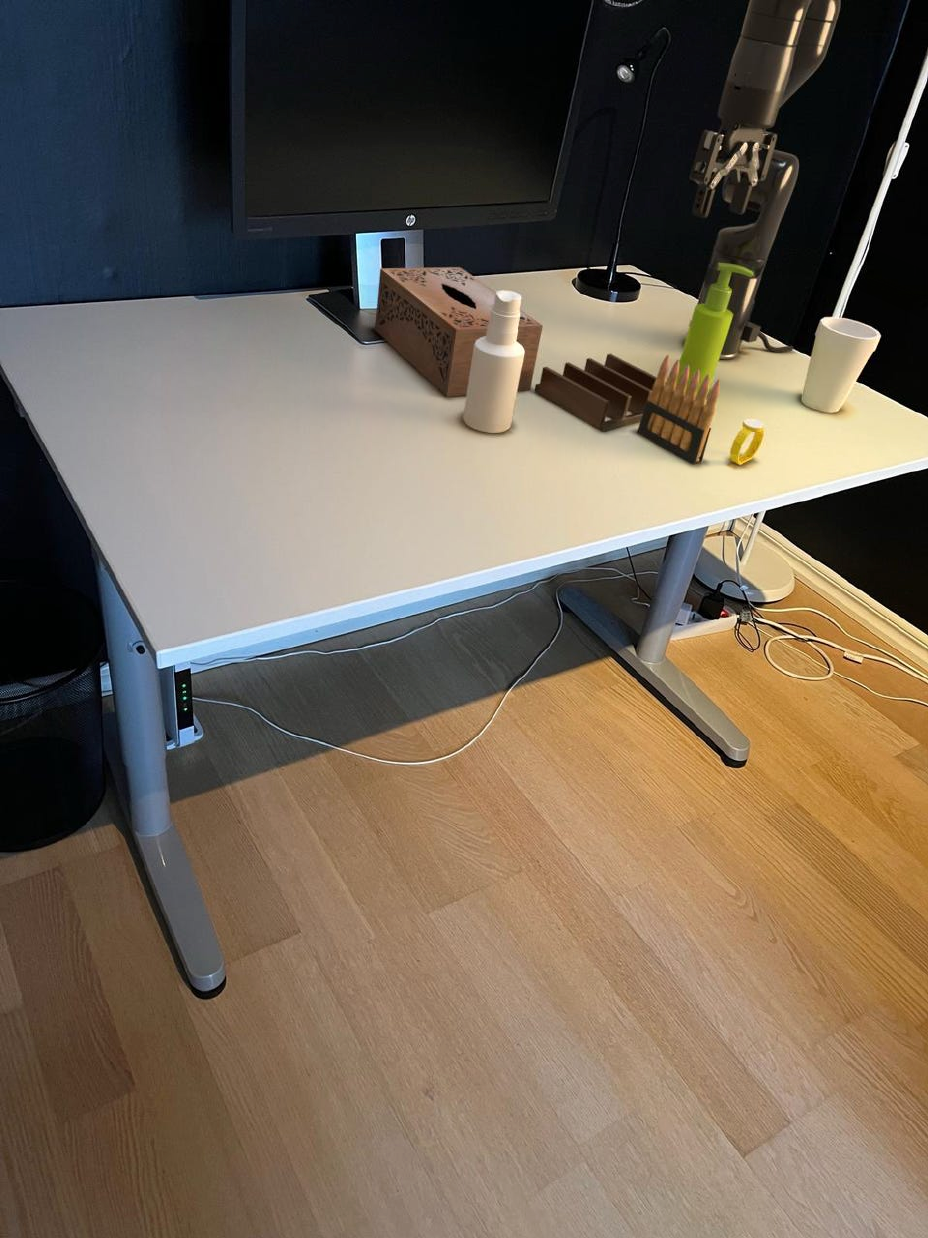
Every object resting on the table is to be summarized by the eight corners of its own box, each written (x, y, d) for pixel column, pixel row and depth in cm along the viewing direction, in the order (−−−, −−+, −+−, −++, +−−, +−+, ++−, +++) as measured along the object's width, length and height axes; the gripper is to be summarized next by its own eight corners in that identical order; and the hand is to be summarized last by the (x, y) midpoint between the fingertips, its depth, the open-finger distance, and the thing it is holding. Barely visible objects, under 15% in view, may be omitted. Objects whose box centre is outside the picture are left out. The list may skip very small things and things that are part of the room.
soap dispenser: (714, 401, 149) (755, 275, 137) (672, 392, 150) (709, 265, 138) (714, 388, 154) (753, 264, 142) (672, 379, 154) (708, 255, 142)
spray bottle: (516, 420, 133) (540, 294, 122) (502, 438, 127) (526, 308, 116) (471, 407, 134) (491, 281, 123) (455, 425, 128) (475, 295, 118)
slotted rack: (600, 376, 151) (606, 351, 148) (669, 413, 143) (677, 387, 140) (534, 391, 142) (539, 365, 139) (603, 431, 134) (610, 404, 131)
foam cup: (802, 387, 160) (831, 312, 152) (855, 406, 156) (887, 330, 149) (784, 401, 153) (813, 324, 146) (838, 421, 150) (871, 343, 142)
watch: (744, 452, 135) (757, 414, 131) (760, 460, 134) (774, 422, 130) (721, 461, 131) (734, 423, 128) (737, 470, 130) (751, 431, 126)
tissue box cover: (530, 389, 142) (542, 325, 136) (447, 396, 135) (456, 329, 130) (452, 326, 159) (460, 266, 153) (374, 330, 153) (380, 268, 147)
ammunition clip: (701, 462, 130) (728, 381, 123) (693, 464, 129) (720, 383, 122) (644, 430, 136) (667, 351, 129) (636, 432, 135) (658, 352, 128)
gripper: (763, 77, 126) (726, 204, 135) (699, 73, 117) (664, 209, 127) (810, 89, 121) (769, 219, 131) (747, 86, 113) (708, 225, 123)
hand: (717, 214), depth 129 cm, fingers open, 8 cm apart
